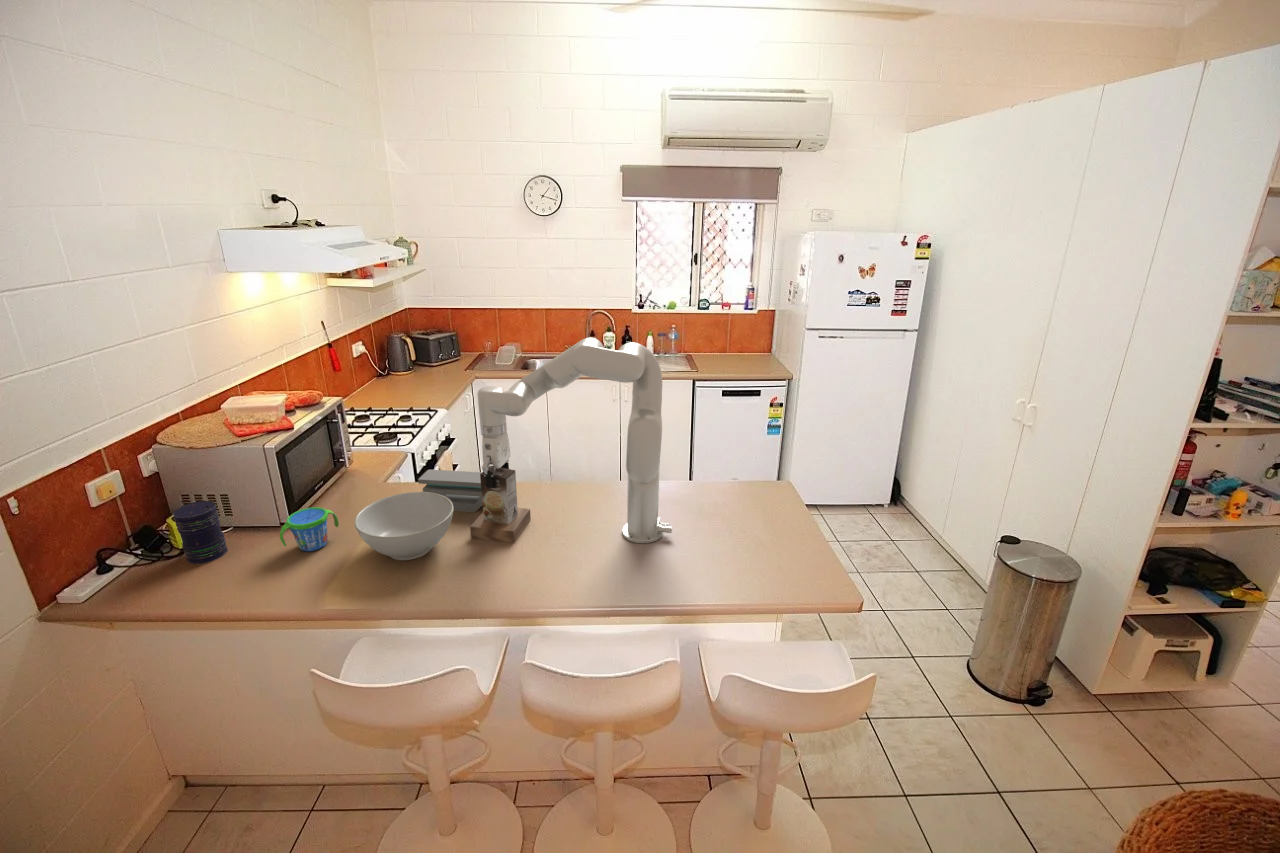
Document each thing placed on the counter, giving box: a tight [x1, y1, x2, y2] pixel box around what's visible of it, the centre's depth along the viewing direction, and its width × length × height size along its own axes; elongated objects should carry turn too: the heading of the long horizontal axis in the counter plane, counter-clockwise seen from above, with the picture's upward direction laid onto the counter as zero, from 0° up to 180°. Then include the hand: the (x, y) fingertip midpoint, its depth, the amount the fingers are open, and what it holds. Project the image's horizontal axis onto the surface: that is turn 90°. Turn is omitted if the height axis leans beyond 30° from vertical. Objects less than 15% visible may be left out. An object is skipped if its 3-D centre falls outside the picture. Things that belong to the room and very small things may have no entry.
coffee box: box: [480, 468, 519, 525], centre depth 182 cm, size 9×6×16 cm
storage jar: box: [172, 500, 228, 565], centre depth 169 cm, size 10×10×15 cm
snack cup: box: [279, 506, 340, 552], centre depth 174 cm, size 16×10×10 cm
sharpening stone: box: [417, 469, 483, 513], centre depth 199 cm, size 25×8×11 cm, turn 84°
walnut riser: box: [469, 507, 532, 544], centre depth 186 cm, size 14×14×4 cm
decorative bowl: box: [353, 491, 454, 561], centre depth 173 cm, size 27×27×12 cm
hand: (497, 480), depth 181 cm, fingers open, 9 cm apart
